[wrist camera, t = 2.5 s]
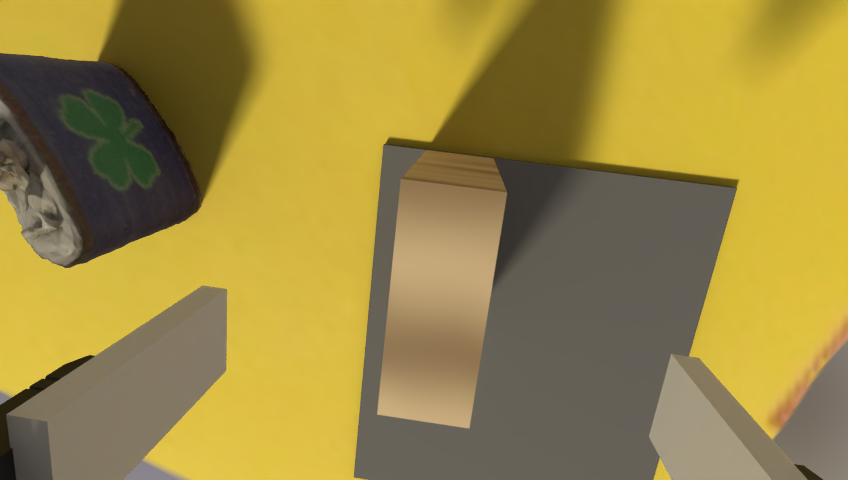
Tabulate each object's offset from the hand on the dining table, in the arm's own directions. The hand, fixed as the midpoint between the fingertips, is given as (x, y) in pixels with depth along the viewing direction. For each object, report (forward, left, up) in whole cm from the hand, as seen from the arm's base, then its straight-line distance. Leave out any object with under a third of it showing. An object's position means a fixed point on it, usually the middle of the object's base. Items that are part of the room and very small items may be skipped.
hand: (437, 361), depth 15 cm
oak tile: (0, 0, -13) cm, 13 cm away
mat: (+6, +5, -13) cm, 15 cm away
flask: (-3, -17, -14) cm, 22 cm away
